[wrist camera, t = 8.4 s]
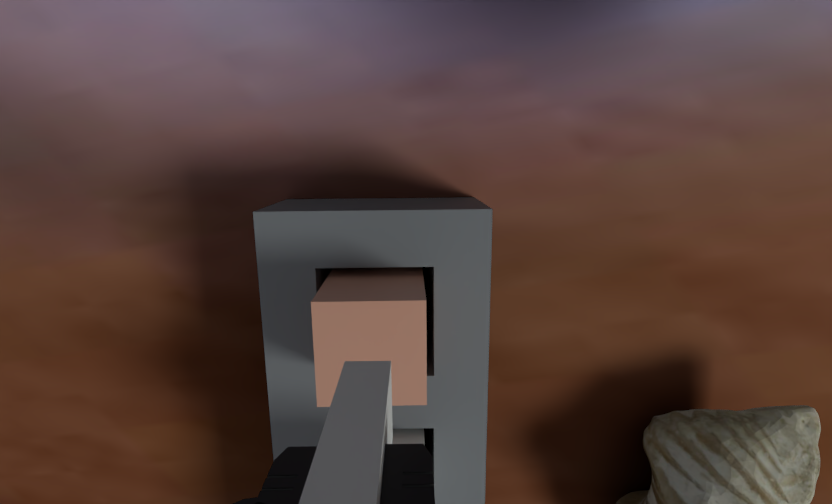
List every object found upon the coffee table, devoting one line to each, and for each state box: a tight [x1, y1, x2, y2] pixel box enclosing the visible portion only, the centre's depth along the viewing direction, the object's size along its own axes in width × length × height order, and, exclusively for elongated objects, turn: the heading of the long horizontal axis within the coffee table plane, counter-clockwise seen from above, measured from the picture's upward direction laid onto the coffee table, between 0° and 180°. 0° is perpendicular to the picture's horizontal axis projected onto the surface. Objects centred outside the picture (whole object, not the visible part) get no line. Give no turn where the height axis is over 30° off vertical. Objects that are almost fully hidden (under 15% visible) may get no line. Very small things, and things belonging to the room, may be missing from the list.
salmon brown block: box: [311, 267, 427, 407], centre depth 22 cm, size 5×5×7 cm
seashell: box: [616, 406, 821, 504], centre depth 28 cm, size 14×9×10 cm
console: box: [253, 197, 492, 504], centre depth 27 cm, size 28×11×6 cm, turn 1°
